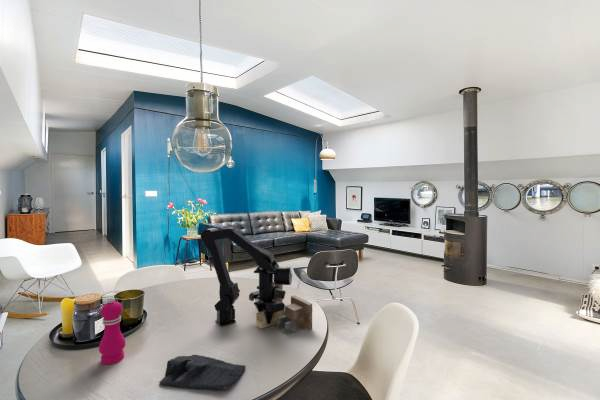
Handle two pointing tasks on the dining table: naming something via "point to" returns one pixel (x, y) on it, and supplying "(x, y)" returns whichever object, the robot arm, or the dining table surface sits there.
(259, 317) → the tan oblong piece
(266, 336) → the dining table surface
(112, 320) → the pepper mill
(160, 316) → the dining table surface
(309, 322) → the brown boxy piece
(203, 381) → the dark slate chunk
